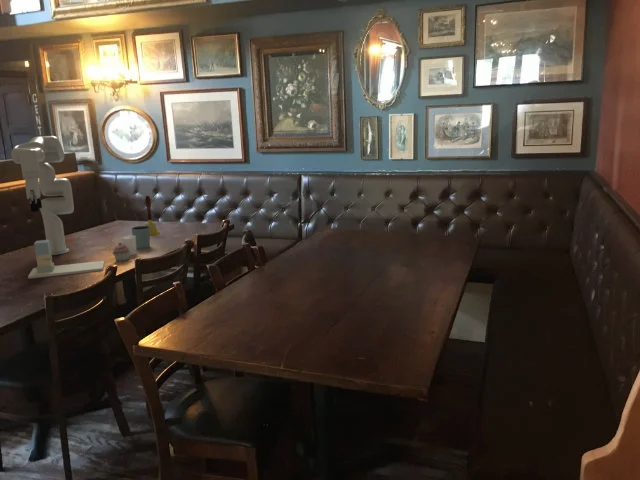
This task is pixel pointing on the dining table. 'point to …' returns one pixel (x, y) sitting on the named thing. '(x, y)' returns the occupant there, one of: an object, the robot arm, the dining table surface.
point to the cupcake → (121, 252)
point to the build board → (66, 269)
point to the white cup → (130, 243)
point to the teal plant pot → (142, 236)
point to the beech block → (44, 260)
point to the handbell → (150, 223)
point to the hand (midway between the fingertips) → (36, 209)
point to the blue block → (42, 247)
